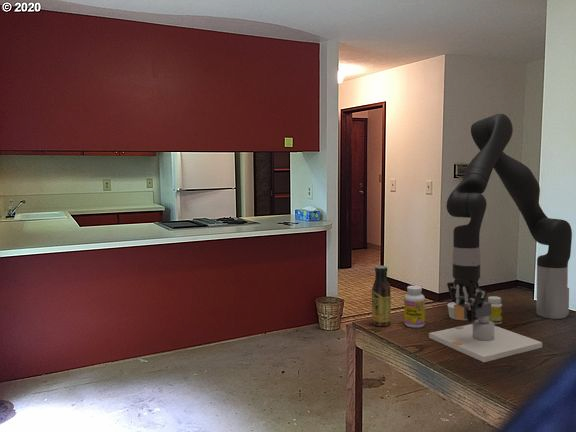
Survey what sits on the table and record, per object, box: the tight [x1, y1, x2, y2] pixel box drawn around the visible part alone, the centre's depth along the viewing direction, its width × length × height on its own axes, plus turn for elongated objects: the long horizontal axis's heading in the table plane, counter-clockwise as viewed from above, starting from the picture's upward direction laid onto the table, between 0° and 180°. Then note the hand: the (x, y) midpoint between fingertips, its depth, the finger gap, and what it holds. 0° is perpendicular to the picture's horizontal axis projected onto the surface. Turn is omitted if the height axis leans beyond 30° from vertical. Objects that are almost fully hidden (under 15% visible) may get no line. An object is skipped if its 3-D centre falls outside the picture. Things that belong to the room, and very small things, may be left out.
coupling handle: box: [454, 300, 491, 323], centre depth 144 cm, size 10×3×6 cm, turn 107°
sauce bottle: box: [371, 265, 392, 327], centre depth 165 cm, size 7×6×20 cm
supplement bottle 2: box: [487, 295, 503, 325], centre depth 163 cm, size 5×5×8 cm
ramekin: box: [447, 301, 467, 321], centre depth 171 cm, size 9×9×4 cm
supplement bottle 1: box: [403, 285, 426, 329], centre depth 164 cm, size 7×7×13 cm
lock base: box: [428, 319, 543, 363], centre depth 146 cm, size 22×22×6 cm
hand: (466, 319), depth 143 cm, fingers closed on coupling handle, 3 cm apart
